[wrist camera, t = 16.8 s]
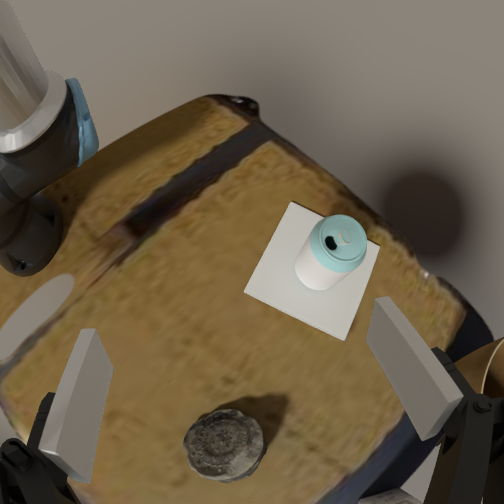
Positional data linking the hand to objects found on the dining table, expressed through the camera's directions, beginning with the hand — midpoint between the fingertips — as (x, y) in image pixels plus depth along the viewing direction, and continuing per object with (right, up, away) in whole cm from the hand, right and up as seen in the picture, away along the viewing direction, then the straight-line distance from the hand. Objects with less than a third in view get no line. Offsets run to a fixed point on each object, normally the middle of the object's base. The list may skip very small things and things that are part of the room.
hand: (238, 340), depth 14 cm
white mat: (+10, +1, +32) cm, 33 cm away
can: (+10, +2, +31) cm, 33 cm away
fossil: (-3, -22, +23) cm, 32 cm away
